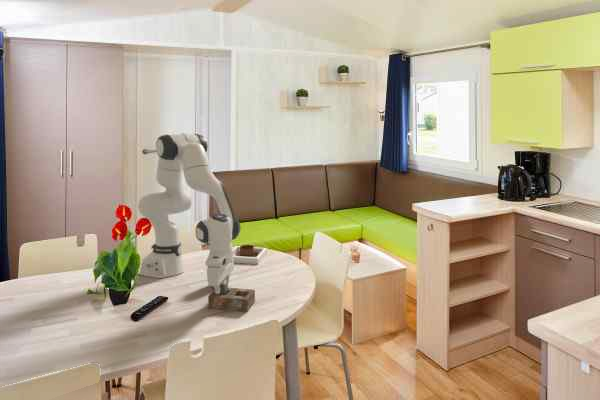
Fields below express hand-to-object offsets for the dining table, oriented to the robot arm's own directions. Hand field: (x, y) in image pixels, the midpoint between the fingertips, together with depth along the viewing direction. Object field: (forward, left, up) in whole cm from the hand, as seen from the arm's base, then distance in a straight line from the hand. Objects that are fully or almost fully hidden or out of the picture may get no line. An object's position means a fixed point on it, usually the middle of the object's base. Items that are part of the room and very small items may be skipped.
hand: (222, 288), depth 178 cm
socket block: (+4, 0, -7) cm, 8 cm away
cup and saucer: (-8, +58, -7) cm, 59 cm away
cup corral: (-8, +58, -7) cm, 59 cm away
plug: (0, 0, -6) cm, 6 cm away
